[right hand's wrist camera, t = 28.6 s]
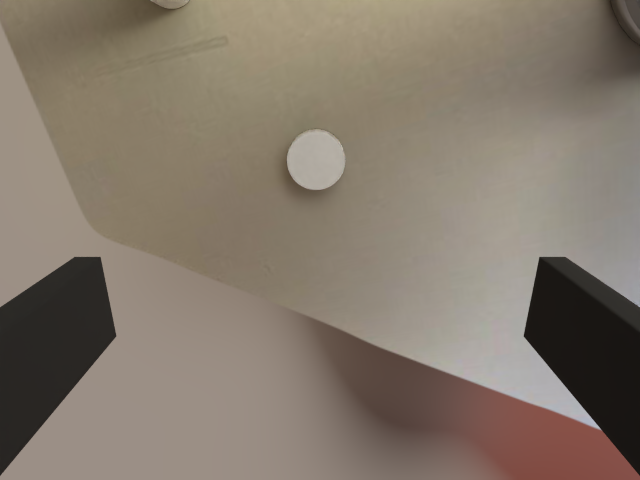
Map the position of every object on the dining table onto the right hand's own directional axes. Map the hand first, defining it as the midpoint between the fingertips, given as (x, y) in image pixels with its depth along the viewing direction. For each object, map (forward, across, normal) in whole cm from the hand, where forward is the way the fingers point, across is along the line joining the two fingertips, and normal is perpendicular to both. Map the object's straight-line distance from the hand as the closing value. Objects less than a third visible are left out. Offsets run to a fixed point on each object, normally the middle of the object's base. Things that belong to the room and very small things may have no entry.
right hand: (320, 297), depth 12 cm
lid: (+26, 0, 0) cm, 26 cm away
